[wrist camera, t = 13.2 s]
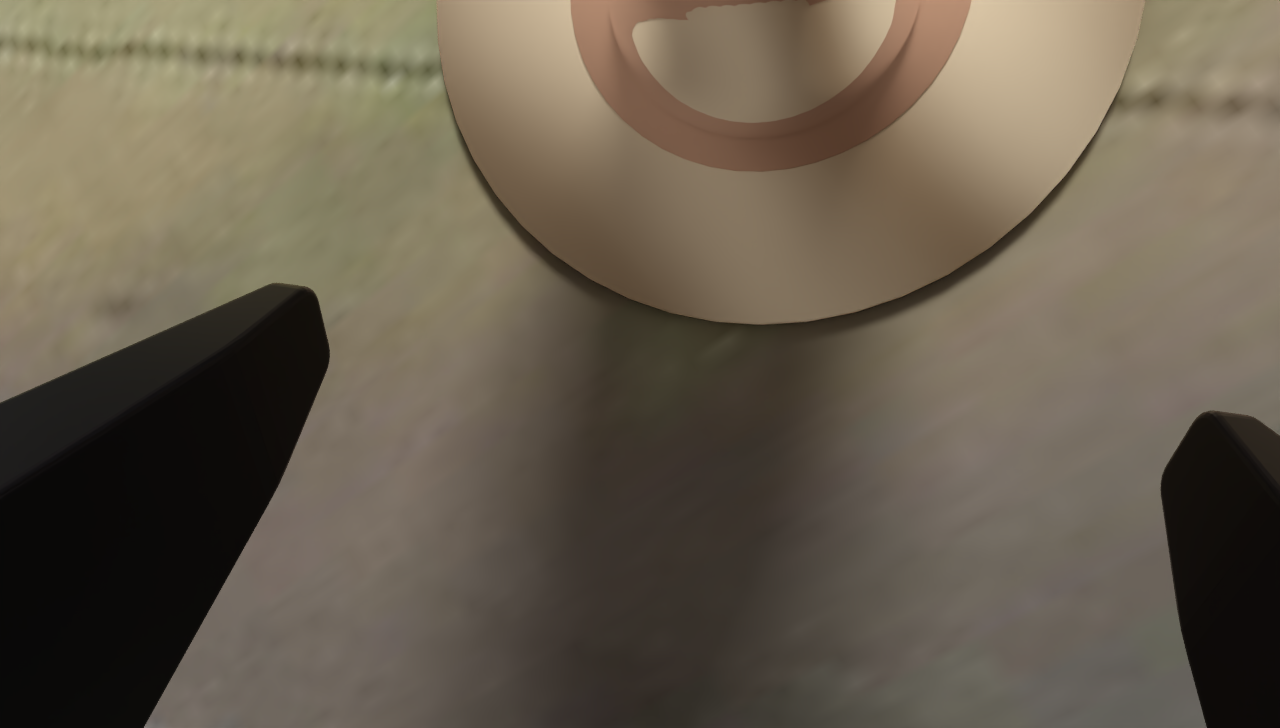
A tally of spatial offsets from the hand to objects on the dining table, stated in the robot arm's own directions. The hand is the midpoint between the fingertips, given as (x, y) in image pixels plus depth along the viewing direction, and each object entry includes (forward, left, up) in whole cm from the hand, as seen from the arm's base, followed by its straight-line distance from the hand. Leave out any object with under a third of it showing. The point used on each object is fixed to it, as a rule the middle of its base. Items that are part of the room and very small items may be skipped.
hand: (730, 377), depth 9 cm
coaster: (+6, +6, -8) cm, 12 cm away
